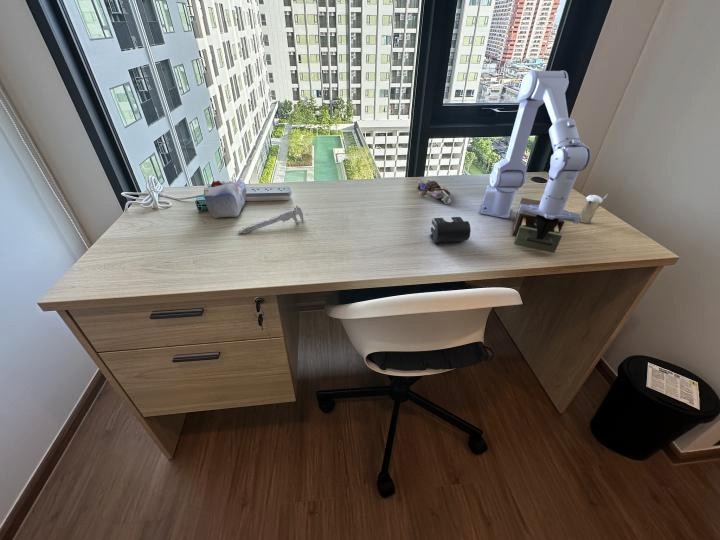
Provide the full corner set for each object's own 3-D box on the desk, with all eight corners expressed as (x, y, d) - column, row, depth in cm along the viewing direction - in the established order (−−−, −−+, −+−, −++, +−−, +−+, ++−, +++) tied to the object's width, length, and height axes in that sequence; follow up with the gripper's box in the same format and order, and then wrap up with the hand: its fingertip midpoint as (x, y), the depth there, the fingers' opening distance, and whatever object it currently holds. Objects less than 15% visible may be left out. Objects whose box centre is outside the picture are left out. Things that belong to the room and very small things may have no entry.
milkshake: (596, 225, 110) (610, 197, 104) (579, 223, 111) (591, 195, 105) (591, 218, 114) (604, 191, 108) (574, 217, 114) (587, 190, 108)
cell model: (198, 191, 101) (204, 170, 116) (207, 223, 107) (211, 199, 123) (242, 187, 104) (242, 167, 120) (249, 218, 110) (248, 195, 126)
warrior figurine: (409, 190, 132) (435, 209, 119) (411, 178, 128) (437, 196, 116) (434, 185, 135) (461, 204, 122) (436, 174, 132) (464, 191, 119)
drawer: (554, 261, 91) (562, 243, 87) (512, 252, 94) (519, 234, 91) (553, 234, 103) (560, 218, 99) (516, 227, 106) (521, 211, 103)
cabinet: (554, 244, 100) (564, 221, 95) (512, 235, 104) (519, 213, 99) (553, 225, 109) (562, 204, 105) (515, 218, 113) (521, 197, 109)
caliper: (302, 221, 110) (301, 203, 106) (303, 222, 109) (302, 205, 105) (239, 232, 103) (234, 214, 99) (239, 234, 102) (235, 216, 98)
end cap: (435, 248, 97) (439, 227, 93) (428, 235, 103) (431, 216, 99) (467, 246, 98) (472, 226, 94) (459, 234, 104) (463, 214, 100)
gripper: (525, 195, 84) (509, 241, 92) (589, 206, 79) (567, 253, 87) (526, 185, 89) (511, 229, 97) (586, 195, 84) (566, 240, 92)
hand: (538, 240), depth 93 cm, fingers closed, pressing on drawer
